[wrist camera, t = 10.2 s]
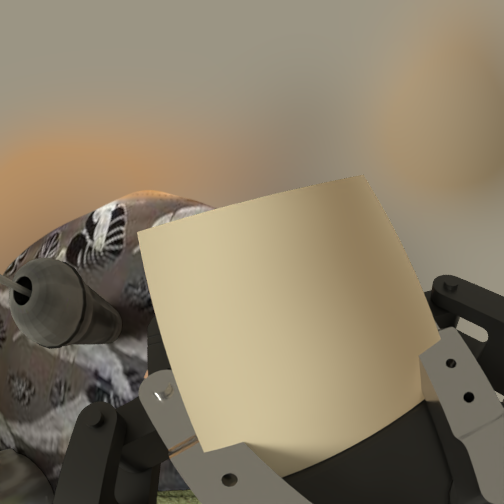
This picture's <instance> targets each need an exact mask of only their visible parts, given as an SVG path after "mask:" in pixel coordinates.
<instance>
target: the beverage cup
mask: <svg viewBox="0 0 504 504" xmlns="http://www.w3.org/2000/svg"><path fill="white" fill-rule="evenodd" d="M0 283H1V284H3V285H5V286H7V287H9V288H10V291H9V305H10V310H11V314H12V317H13V319H14V321H15V323H16V325H17V326H18V328H19V329H20V330H21V331H22V332H23V333H24V334H25V335H26V336H27V337H28V338H29V339H30V340H32V341H34V342H36V343H37V344H39V345H41V346H44V347H47V348H49V349H50V348H60V347H62V346H67V345H71V344H105V343H111V342H113V341H115V340H116V339H117V338H118V336H119V335H120V332H121V329H122V321H121V317H120V315H119V313H118V312H117V311H116V310H115V309H114V308H113V307H112V306H111V305H110V304H109V303H108V302H107V301H105V300H104V299H103V298H102V297H100V296H99V295H98V294H97V293H96V292H95V291H93V290H92V289H91V288H90V287H89V286H88V285H86V283H85V282H84V281H83V279H82V278H81V276H80V275H79V274H78V272H77V271H76V269H75V268H74V267H72V266H71V265H69V264H67V263H66V262H61V261H59V260H55V259H50V258H39V259H36V260H32V261H30V262H28V263H27V264H25V265H24V266H22V267H21V268H20V269H19V271H18V272H17V273H16V274H15V276H14V279H13V281H11V280H10V279H8V278H6V277H4V276H2V275H0Z"/></svg>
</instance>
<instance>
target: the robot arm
mask: <svg viewBox="0 0 504 504" xmlns="http://www.w3.org/2000/svg"><path fill="white" fill-rule="evenodd" d="M424 295H425V297H426V300H427V302H428V305H429V307H430V310H431V313H432V315H433V318H434V321H435V324H436V327H437V329H438V332H439V335H440V338H441V340H439V341H438V342H437V343H435V344H434V345H433V346H431V347H430V348H429V349H427V350H426V351H425V352H423V353H422V354H420V355H419V366H420V377H421V390H422V393H423V395H424V398H425V399H424V400H423V401H421V402H420V403H419V404H417V405H416V406H415V407H413V408H412V409H411V410H409V411H408V412H406V413H405V414H404V415H402V416H401V417H399V418H398V419H396V420H395V421H393V422H392V423H390V424H389V425H387V426H385V427H384V428H382V429H381V430H379V431H377V432H376V433H374V434H372V435H371V436H369V437H367V438H366V439H364V440H362V441H360V442H359V443H357V444H355V445H353V446H351V447H349V448H347V449H346V450H344V451H342V452H340V453H338V454H336V455H334V456H332V457H330V458H327V459H325V460H323V461H321V462H319V463H316V464H314V465H312V466H310V467H307V468H305V469H302V470H300V471H298V472H295V473H292V474H290V475H287V476H284V477H282V478H281V477H280V476H279V475H277V474H276V473H275V472H274V471H273V470H272V469H271V468H270V467H269V466H268V465H266V464H265V463H264V462H263V461H262V460H261V459H260V458H259V457H258V456H257V455H256V454H255V453H254V452H253V451H252V450H251V449H250V448H249V447H248V446H247V445H246V444H245V443H244V442H241V443H238V444H235V445H231V446H228V447H224V448H220V449H217V450H213V451H209V452H205V453H204V451H203V449H202V447H201V444H200V442H199V440H198V437H197V435H196V433H195V430H194V428H193V425H192V423H191V420H190V418H189V415H188V413H187V410H186V408H185V405H184V402H183V400H182V397H181V394H180V392H179V389H178V386H177V383H176V380H175V377H174V374H173V372H172V368H171V365H170V362H169V359H168V356H167V353H166V350H165V346H164V343H163V340H162V336H161V333H160V329H159V326H158V322H157V319H156V317H153V318H152V320H151V322H150V324H149V325H148V339H147V345H148V347H147V349H148V377H147V378H146V379H145V380H144V381H143V382H142V384H141V385H140V388H139V396H138V397H137V398H135V399H134V400H132V401H130V402H128V403H126V404H125V405H123V406H121V407H119V408H117V409H115V408H114V407H113V406H112V405H111V404H109V403H106V402H95V403H92V404H90V405H88V406H87V407H85V408H84V409H83V410H82V411H81V413H80V414H79V416H78V418H77V421H76V424H75V427H74V430H73V433H72V436H71V439H70V442H69V445H68V448H67V451H66V455H65V458H64V462H63V465H62V469H61V472H60V476H59V480H58V484H57V488H56V492H55V496H54V494H53V490H52V488H51V485H50V483H49V481H48V480H47V478H46V477H45V475H44V474H43V473H42V471H41V470H40V469H39V468H38V467H37V465H36V464H34V463H33V462H32V461H31V460H30V459H28V458H27V457H26V456H24V455H22V454H18V453H16V452H15V451H14V450H13V449H12V448H11V449H7V450H3V451H0V504H52V503H53V504H157V493H158V483H159V473H160V464H161V462H163V461H165V460H167V459H169V458H170V460H171V462H172V463H173V465H174V466H175V468H176V469H177V471H178V472H179V474H180V475H181V477H182V478H183V479H184V481H185V482H186V484H187V485H188V486H189V488H190V489H191V491H192V492H193V493H194V495H195V496H196V497H197V498H198V500H199V501H200V502H201V504H504V399H503V402H500V401H499V399H498V397H497V395H496V393H495V391H496V392H498V393H500V394H502V395H503V396H504V297H503V296H501V295H499V294H496V293H494V292H492V291H489V290H487V289H485V288H482V287H480V286H478V285H475V284H473V283H470V282H468V281H466V280H463V279H461V278H458V277H455V276H452V275H442V276H438V277H437V278H435V279H434V281H433V286H432V290H431V291H427V292H424ZM460 317H462V318H464V319H466V320H468V321H470V322H472V323H474V324H476V325H478V326H480V327H482V328H484V329H485V330H486V331H487V332H488V341H486V342H480V341H478V340H476V339H474V338H472V337H470V336H468V335H466V334H464V333H462V332H460V331H458V330H456V327H457V324H458V321H459V318H460ZM235 481H237V483H236V484H235V485H234V486H231V487H230V485H231V484H232V483H233V482H235Z"/></svg>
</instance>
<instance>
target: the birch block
mask: <svg viewBox="0 0 504 504" xmlns="http://www.w3.org/2000/svg"><path fill="white" fill-rule="evenodd" d="M137 234H138V239H139V245H140V250H141V255H142V260H143V265H144V269H145V274H146V278H147V283H148V287H149V291H150V295H151V299H152V303H153V307H154V311H155V315H156V319H157V322H158V326H159V329H160V333H161V336H162V340H163V343H164V346H165V350H166V353H167V356H168V359H169V362H170V365H171V368H172V372H173V374H174V377H175V380H176V383H177V386H178V389H179V392H180V394H181V397H182V400H183V402H184V405H185V408H186V410H187V413H188V415H189V418H190V420H191V423H192V425H193V428H194V430H195V433H196V435H197V437H198V440H199V442H200V444H201V447H202V449H203V451H204V453H205V452H209V451H213V450H217V449H220V448H224V447H228V446H231V445H235V444H238V443H241V442H244V443H245V444H246V445H247V446H248V447H249V448H250V449H251V450H252V451H253V452H254V453H255V454H256V455H257V456H258V457H259V458H260V459H261V460H262V461H263V462H264V463H265V464H266V465H268V466H269V467H270V468H271V469H272V470H273V471H274V472H275V473H276V474H277V475H279V476H280V477H281V478H282V477H284V476H287V475H290V474H292V473H295V472H298V471H300V470H302V469H305V468H307V467H310V466H312V465H314V464H316V463H319V462H321V461H323V460H325V459H327V458H330V457H332V456H334V455H336V454H338V453H340V452H342V451H344V450H346V449H347V448H349V447H351V446H353V445H355V444H357V443H359V442H360V441H362V440H364V439H366V438H367V437H369V436H371V435H372V434H374V433H376V432H377V431H379V430H381V429H382V428H384V427H385V426H387V425H389V424H390V423H392V422H393V421H395V420H396V419H398V418H399V417H401V416H402V415H404V414H405V413H406V412H408V411H409V410H411V409H412V408H413V407H415V406H416V405H417V404H419V403H420V402H421V401H423V400H424V399H425V398H424V395H423V393H422V390H421V377H420V366H419V355H420V354H422V353H423V352H425V351H426V350H427V349H429V348H430V347H431V346H433V345H434V344H435V343H437V342H438V341H439V340H441V338H440V335H439V332H438V329H437V327H436V324H435V321H434V318H433V315H432V313H431V310H430V307H429V305H428V302H427V300H426V297H425V295H424V292H423V290H422V287H421V285H420V283H419V280H418V278H417V276H416V274H415V271H414V269H413V267H412V265H411V262H410V261H409V258H408V256H407V254H406V252H405V250H404V248H403V246H402V244H401V241H400V239H399V238H398V236H397V234H396V232H395V230H394V228H393V226H392V224H391V222H390V220H389V218H388V216H387V215H386V213H385V211H384V209H383V207H382V206H381V204H380V202H379V200H378V199H377V197H376V195H375V194H374V192H373V190H372V189H371V187H370V185H369V183H368V182H367V180H366V179H365V177H364V175H360V176H355V177H349V178H344V179H340V180H335V181H330V182H325V183H321V184H316V185H311V186H307V187H302V188H298V189H294V190H289V191H285V192H281V193H277V194H273V195H269V196H265V197H261V198H257V199H252V200H248V201H245V202H241V203H237V204H233V205H229V206H226V207H222V208H218V209H214V210H211V211H207V212H203V213H200V214H196V215H193V216H189V217H186V218H182V219H179V220H176V221H172V222H169V223H166V224H162V225H159V226H156V227H152V228H149V229H146V230H143V231H140V232H137ZM236 483H237V481H235V482H233V483H232V484H231V485H230V487H231V486H234V485H235V484H236Z"/></svg>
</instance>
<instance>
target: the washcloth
mask: <svg viewBox="0 0 504 504" xmlns="http://www.w3.org/2000/svg"><path fill="white" fill-rule="evenodd" d="M157 504H201V502H200V501H199V500H198V498H197V497H196V496H195V495H194V493H193V492H192V491H191V490H184V491H182V490H172V491H162V492H161V491H159V492H158V493H157Z"/></svg>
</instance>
